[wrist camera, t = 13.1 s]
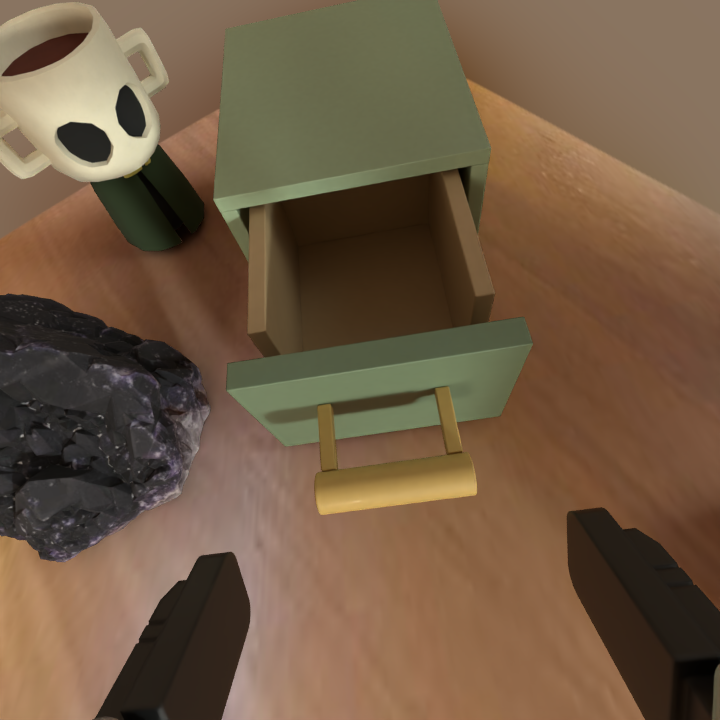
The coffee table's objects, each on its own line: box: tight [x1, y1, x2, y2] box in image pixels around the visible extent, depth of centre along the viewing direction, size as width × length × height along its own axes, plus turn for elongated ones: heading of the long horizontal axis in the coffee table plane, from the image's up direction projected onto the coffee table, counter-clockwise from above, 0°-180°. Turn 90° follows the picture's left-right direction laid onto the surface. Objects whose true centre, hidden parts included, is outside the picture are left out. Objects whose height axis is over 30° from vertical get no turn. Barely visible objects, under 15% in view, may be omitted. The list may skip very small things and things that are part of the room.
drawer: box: [226, 168, 533, 515], centre depth 22 cm, size 18×11×8 cm, turn 6°
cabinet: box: [213, 0, 491, 262], centre depth 27 cm, size 15×13×10 cm
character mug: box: [0, 2, 204, 251], centre depth 28 cm, size 11×7×13 cm, turn 136°
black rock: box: [0, 294, 211, 562], centre depth 22 cm, size 13×14×10 cm
